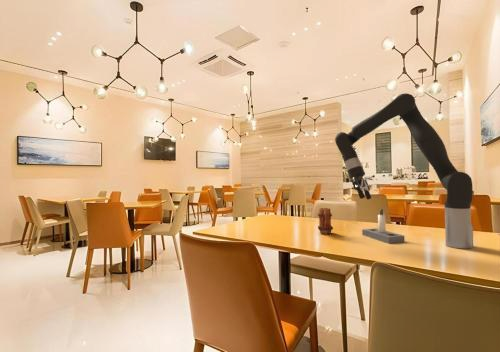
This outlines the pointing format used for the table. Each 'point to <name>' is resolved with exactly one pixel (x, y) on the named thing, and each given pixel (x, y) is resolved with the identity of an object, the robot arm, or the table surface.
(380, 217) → the plug
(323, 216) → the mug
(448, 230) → the robot arm
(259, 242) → the table surface
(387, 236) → the gray slotted tray
